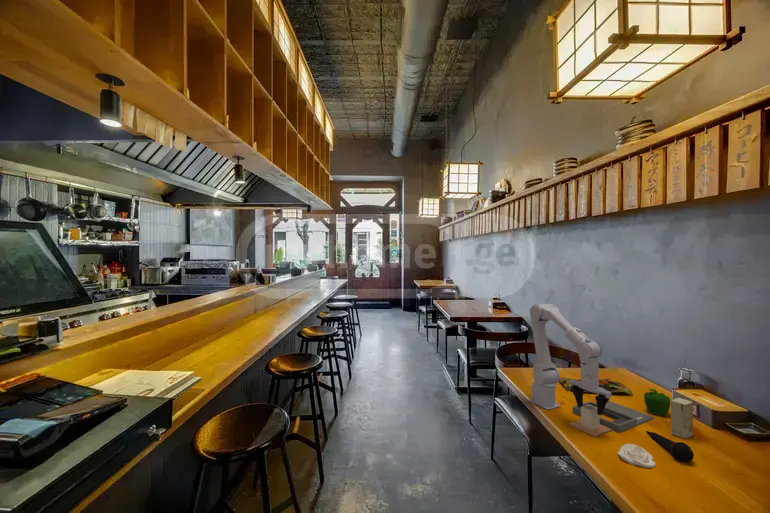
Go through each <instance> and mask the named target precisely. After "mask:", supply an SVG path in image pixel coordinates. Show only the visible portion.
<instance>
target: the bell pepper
mask: <svg viewBox="0 0 770 513" xmlns="http://www.w3.org/2000/svg"><path fill="white" fill-rule="evenodd" d="M648 390H649V392H644V395H643V400H644V403H645V406H646V410H647V411H648V412H649V414H653V415H658V416H662V417H665V416H667V415H668V414H669V411H670V409H671V398H670V397H669V396H667V395H666V394H665V393H664V392H660V393H659V392H658V390H656V389H655V388H651V387H650V388H648Z"/></svg>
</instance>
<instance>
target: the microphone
mask: <svg viewBox="0 0 770 513" xmlns="http://www.w3.org/2000/svg"><path fill="white" fill-rule="evenodd" d="M645 433H646V434H648V435H649V437H651V439H653V440H654V441H655V442H657V443H659V444H660V445H661V446H663V447H664V448H665V449H667V450H669V451H670V452H671V454H672V456H673V457H674V459H676V460H678V461H679V462H687V463H688V462H689V463H690V462H691V461H693V460H694V457H695V454H694V451H693V450H692V448H691V446H689V445H688V444H686V443H685V442H683V441H682V442H680V441H679V442H678V441H677V442H676V441H674V440H671V439H669V438H667V437H665V436H664V435H661V434H659V433H657V432H654V431H649V430H646V431H645Z"/></svg>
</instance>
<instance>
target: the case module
mask: <svg viewBox="0 0 770 513" xmlns="http://www.w3.org/2000/svg"><path fill="white" fill-rule="evenodd" d="M600 417H601V415H598V414H597V407H595V406H592V405H585V406H582V407H581V416H580V420H581V426H583V427H586V428H588V429H590V430H593V429H596V428H599V427H600Z"/></svg>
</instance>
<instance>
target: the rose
mask: <svg viewBox="0 0 770 513" xmlns="http://www.w3.org/2000/svg"><path fill="white" fill-rule="evenodd" d="M616 454H617V455H618V456H619V457H620V458H621V460H623V461H624V462H626V463H629V464H630V465H634V466H639V467H641V468H646V469H651V468H654V467H655V466H656V465H657V464H656V461H654V459H653V455H652V454H651V453H650V452H648V450H646V449H644V448H643V447H641V446H639V445H637V444H634V443H626V444H623V445H621V446H620V449H619V451H617V452H616Z"/></svg>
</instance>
